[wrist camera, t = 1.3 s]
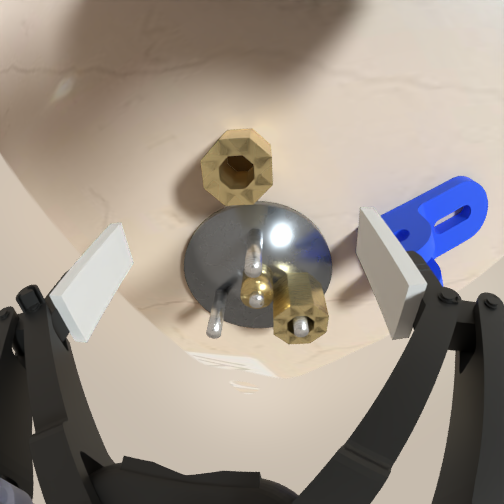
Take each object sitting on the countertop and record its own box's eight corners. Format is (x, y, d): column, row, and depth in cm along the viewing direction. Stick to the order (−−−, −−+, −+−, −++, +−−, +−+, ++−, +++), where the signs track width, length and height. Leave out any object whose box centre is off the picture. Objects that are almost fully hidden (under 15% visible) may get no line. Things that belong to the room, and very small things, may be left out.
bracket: (378, 275, 37) (400, 322, 29) (357, 226, 33) (382, 269, 26) (482, 218, 32) (519, 251, 24) (473, 166, 28) (517, 192, 20)
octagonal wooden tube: (210, 131, 28) (198, 141, 23) (269, 127, 28) (270, 136, 23) (215, 185, 32) (205, 206, 26) (271, 183, 31) (273, 204, 26)
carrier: (174, 205, 33) (151, 240, 26) (335, 199, 32) (354, 233, 25) (198, 322, 42) (188, 366, 35) (323, 319, 41) (332, 364, 34)
